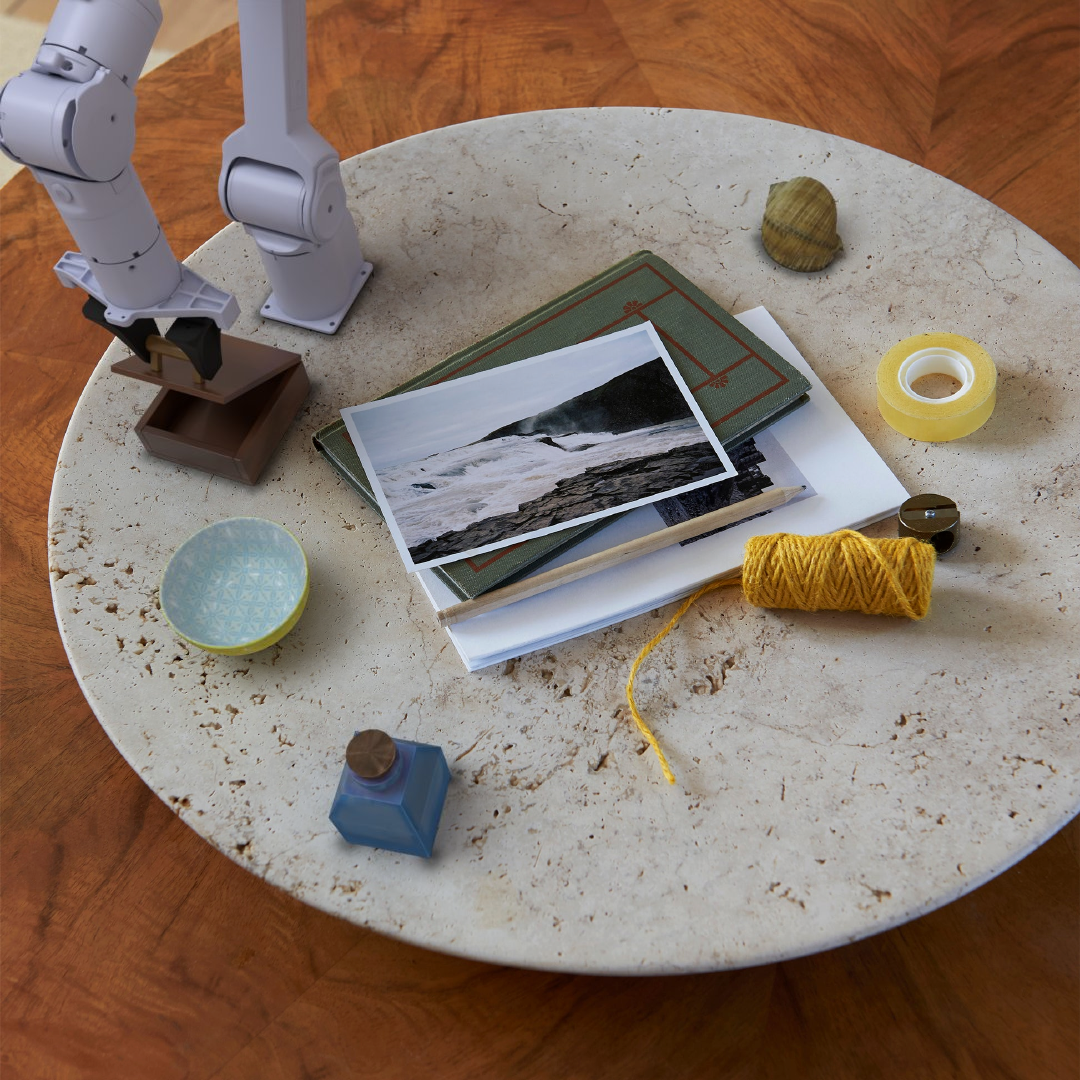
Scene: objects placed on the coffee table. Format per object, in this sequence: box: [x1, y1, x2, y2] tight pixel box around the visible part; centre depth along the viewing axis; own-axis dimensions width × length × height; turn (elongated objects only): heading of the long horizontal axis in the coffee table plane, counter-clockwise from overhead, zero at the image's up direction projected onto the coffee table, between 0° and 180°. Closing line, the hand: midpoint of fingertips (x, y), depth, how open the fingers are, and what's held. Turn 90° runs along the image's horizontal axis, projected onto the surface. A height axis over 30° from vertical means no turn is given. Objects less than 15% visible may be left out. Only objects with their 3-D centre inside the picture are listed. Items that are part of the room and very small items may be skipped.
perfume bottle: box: [327, 728, 452, 860], centre depth 71 cm, size 6×6×12 cm
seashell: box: [760, 176, 845, 273], centre depth 102 cm, size 10×7×8 cm
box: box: [133, 359, 313, 487], centre depth 93 cm, size 12×11×4 cm
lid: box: [110, 332, 303, 404], centre depth 88 cm, size 12×11×4 cm
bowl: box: [158, 515, 311, 656], centre depth 82 cm, size 11×12×6 cm
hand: (183, 362), depth 85 cm, fingers closed on lid, 5 cm apart
